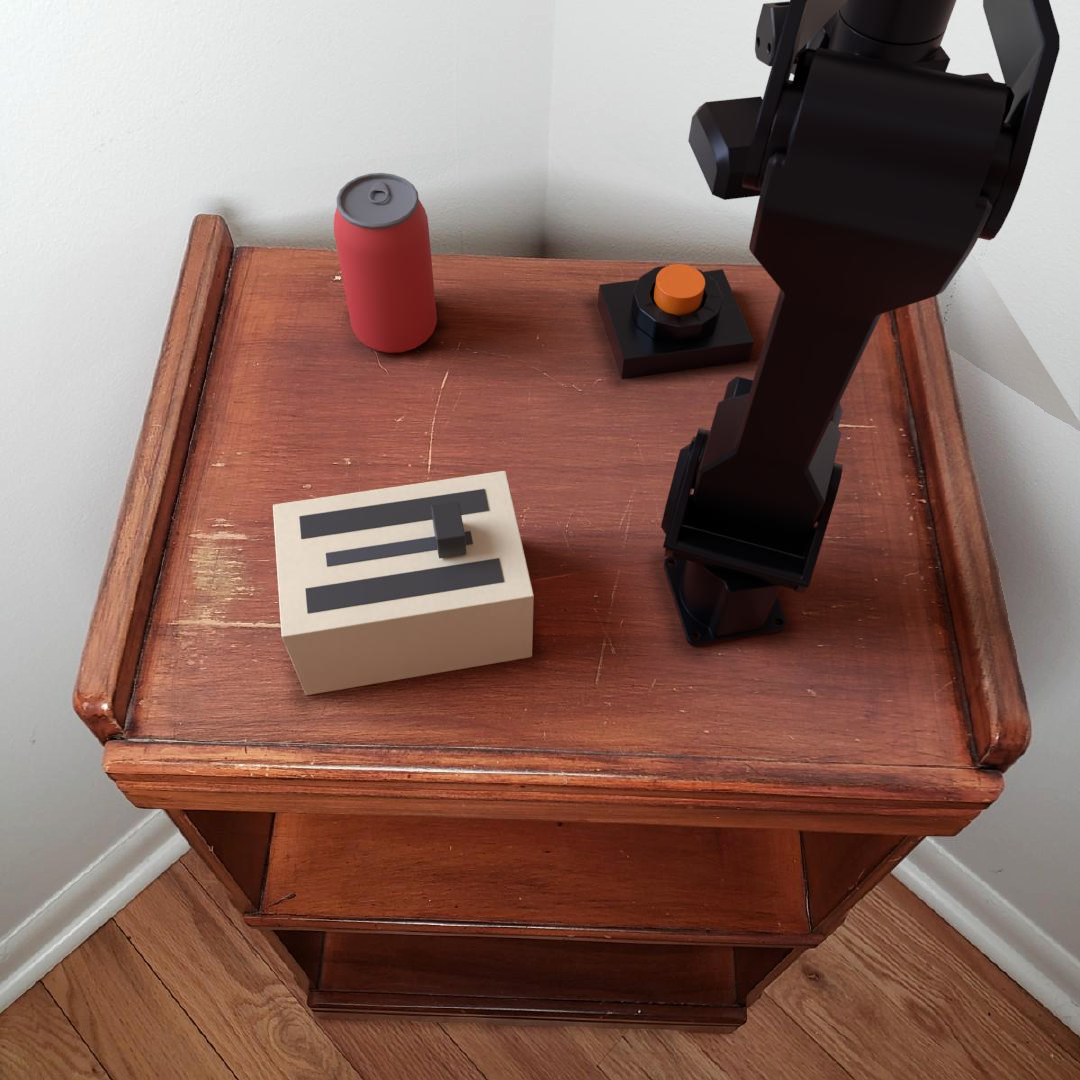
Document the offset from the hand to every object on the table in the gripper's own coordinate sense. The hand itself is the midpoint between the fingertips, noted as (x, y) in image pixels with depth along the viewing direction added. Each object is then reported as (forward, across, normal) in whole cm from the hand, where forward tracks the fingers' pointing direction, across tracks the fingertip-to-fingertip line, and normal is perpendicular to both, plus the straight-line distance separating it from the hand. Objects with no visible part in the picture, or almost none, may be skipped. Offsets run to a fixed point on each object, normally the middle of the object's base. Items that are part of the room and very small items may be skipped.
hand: (819, 247), depth 67 cm
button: (+8, +7, -5) cm, 12 cm away
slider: (+4, +27, +16) cm, 32 cm away
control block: (+12, +7, -5) cm, 15 cm away
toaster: (+12, +30, +16) cm, 36 cm away
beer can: (+12, +28, -10) cm, 32 cm away
